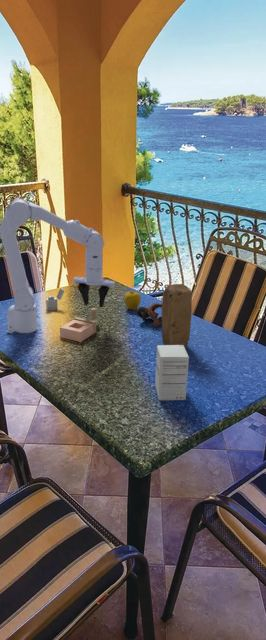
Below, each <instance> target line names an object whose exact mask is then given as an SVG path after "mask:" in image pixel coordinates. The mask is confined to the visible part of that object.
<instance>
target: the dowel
mask: <svg viewBox="0 0 266 640" xmlns="http://www.w3.org/2000/svg"><path fill="white" fill-rule="evenodd" d="M90 320H92V321H96V327H97V326H98V321H99V320H98V308H97V307H92V308H90Z"/></svg>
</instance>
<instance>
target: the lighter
mask: <svg viewBox="0 0 266 640" xmlns="http://www.w3.org/2000/svg"><path fill="white" fill-rule="evenodd" d="M64 293H65V289H64V288H59V291H58V293H57V295H56V296H55V295H51V296H48V298H46V299H45V305H46V306H45V309H46V311H54V310H55V311H56V309H57V310H58V300H61V299H62V298H63V296H64Z"/></svg>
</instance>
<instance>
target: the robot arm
mask: <svg viewBox="0 0 266 640" xmlns="http://www.w3.org/2000/svg"><path fill="white" fill-rule="evenodd" d="M29 219H30V221H31V222H32V221H33V222H34V221H42V222H45V223H47V224H48V225H50V226H53V227H56V228H57V229H60V230H61V231H63V235H64V236H65V237H67V238H69V239H70V240H73V241H74V242H77V243H78V244H80V245H85V254H84V255H85V257H84V258H85V259H84V260H85V261H84V263H85V270H84V271H85V277H82V276H75V277H73V278H72V280H73V281H72V283H73V285H78V286H77V290H78V291H79V293H80V296H81V297H82V300H83V305H84V306H88V304H89V303H90V301H89V300H90V299H89V298H90V297H89V295H90V294H89V292H90V286H95V287H98V295H99V296H98V297H99V308H103V307H104V305H105V300H106V298H107V295H108V292H109V290H110V289H114V288H115V287H116V281H115V280H110V279H109V280H108V279H104V278H103V253H102V252H103V247H104V246H105V242H104V238H103V236H102V235H101V234H100V233H99V232H98V231H96V229H93V228H92V227H87V226H85V225H84V224H82V223H81V221H80V220H78V219H75V220H74V219H70V220H66V219H64V218H62V217H61V216H58V215H56V214H55V213H53V212H52V211H49V210H48V209H45V208H43V207H42V206H40V205H38V204H37V203H36V204H35V203H33V202H31V201H29V202H28V201H27V200H26V199H24V198H15V199H13V200H12V201H11V202H10V204H8V206H7V207H6V209H5V212H4V215H3V217H2V220H1V222H0V238H1V243H2V245H3V246H2V247H3V250H4V253H5V256H6V257H5V258H6V260H7V265H8V268H9V271H10V275H11V280H12V283H13V289H14V304H12V305H10V306H9V308H8V309H7V312H6V320H7V329H8V330H6V333H9V334H13V333H15V332H17V333H20V334H31V333H34V332H36V331H37V330H38V325H37V324H38V323H37V321H38V320H37V305H36V304H35V298H34V289H33V288H32V287H31V286H30V284H29V280H28V278H27V275H26V274H27V273H26V269H25V265H24V261H23V258H22V255H21V254H22V253H21V250H20V247H19V242H18V237H17V234H16V232H17V231H18V230H19V228H20V226H21V225H23V224H25V223H26V222H27V221H28V220H29Z"/></svg>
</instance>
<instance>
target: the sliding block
mask: <svg viewBox="0 0 266 640" xmlns="http://www.w3.org/2000/svg"><path fill="white" fill-rule="evenodd" d="M94 334H95V333H94V324H91V323H86V322H82V321H77V320H74V319H72V320H70V321H68V322H67V323H65V324H63V325H62V326H60V327H59V338H61V339H66V340H69V341H70V340H71V341H76V342H79V343H82V342H83V341H85V340H86V339H88V338H89V337H91V336H93V335H94Z"/></svg>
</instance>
